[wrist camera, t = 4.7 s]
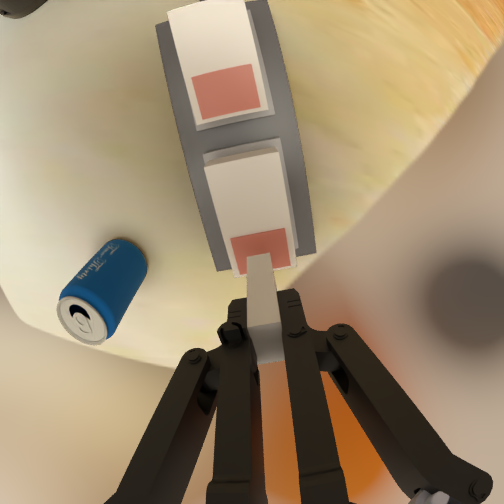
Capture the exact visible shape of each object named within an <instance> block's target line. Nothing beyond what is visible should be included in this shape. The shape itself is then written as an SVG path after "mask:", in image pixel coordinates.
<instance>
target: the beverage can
mask: <svg viewBox="0 0 504 504" xmlns="http://www.w3.org/2000/svg"><path fill="white" fill-rule="evenodd" d="M146 273H147V264H146V260H145V258H144V256H143V254H142V253H141V251H140V250H139V249H138V248H137V247H136V246H135V245H134V244H132V243H130V242H128V241H125V240H121V239H115V240H111V241H109V242H107V243H106V244H105V245H104V246H103V247H102V248H101V249H100V250H99V251H98V252H97V253H96V254H95V255H94V256H93V257H92V258H91V259H90V260H89V262H88V263H87V264H86V265H85V266H84V267H83V268H82V269H81V270H80V271H79V272H78V273H77V274H76V276H75V277H74V278H73V279H72V280H71V281H70V282H69V283H68V284H67V286H66V287H65V288H64V289H63V290H62V292H61V294H60V298H59V302H58V304H57V315H58V318H59V320H60V322H61V324H62V326H63V327H64V328H65V329H66V331H67V332H68V333H69V334H70V335H72V336H73V337H74V338H75V339H77V340H79V341H80V342H83V343H85V344H88V345H100V344H102V343H103V342H104V341H105V340H106V339H108V338H110V337H111V336H112V335H113V334H114V332H115V330H116V329H117V327H118V325H119V323H120V321H121V319H122V317H123V315H124V314H125V312H126V310H127V308H128V306H129V304H130V303H131V301H132V299H133V297H134V296H135V294H136V292H137V290H138V289H139V287H140V285H141V283H142V282H143V280H144V278H145V276H146Z"/></svg>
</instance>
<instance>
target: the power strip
mask: <svg viewBox="0 0 504 504" xmlns="http://www.w3.org/2000/svg"><path fill="white" fill-rule="evenodd" d="M201 1H205V0H200V2H201ZM245 6H246V10H247V14H248V18H249V22H250V26H251V30H252V35H253V39H254V43H255V48H256V52H257V56H258V61H259V65H260V70H261V75H262V79H263V84H264V89H265V94H266V99H267V104H268V109H269V110H264V111H258V112H253V113H248V114H243V115H238V116H233V117H229V118H224V119H220V120H216V121H212V122H208V123H204V124H200V125H197V124H196V120H195V117H194V113H193V109H192V106H191V102H190V99H189V95H188V91H187V88H186V84H185V80H184V77H183V73H182V69H181V65H180V62H179V58H178V54H177V50H176V46H175V43H174V39H173V35H172V31H171V27H170V23H169V21H166V22H163V23H160V24H157V25H155V27H156V32H157V37H158V43H159V48H160V53H161V57H162V62H163V67H164V72H165V76H166V81H167V85H168V90H169V94H170V99H171V103H172V107H173V112H174V116H175V120H176V124H177V128H178V132H179V137H180V141H181V145H182V149H183V152H184V156H185V160H186V164H187V168H188V172H189V175H190V179H191V183H192V187H193V190H194V194H195V198H196V201H197V205H198V208H199V212H200V216H201V219H202V223H203V226H204V229H205V233H206V236H207V240H208V243H209V247H210V250H211V253H212V257H213V260H214V263H215V266H216V270H217V271H223V270H228V269H232V267H231V264H230V260H229V257H228V253H227V250H226V246H225V243H224V239H223V236H222V232H221V229H220V225H219V222H218V218H217V214H216V211H215V207H214V204H213V200H212V196H211V193H210V189H209V185H208V182H207V178H206V174H205V170H204V166H205V165H206V163H207V162H208V160H212V159H217V158H221V157H225V156H230V155H234V154H239V153H244V152H249V151H254V150H259V149H264V148H270V147H276V149H277V150H278V151H279V156H280V161H281V167H282V172H283V178H284V184H285V189H286V195H287V201H288V208H289V214H290V220H291V227H292V233H293V240H294V247H295V254H296V257H298V256H303V255H308V254H313V253H316V245H315V236H314V228H313V220H312V212H311V205H310V197H309V191H308V184H307V177H306V171H305V165H304V159H303V153H302V147H301V141H300V136H299V130H298V125H297V120H296V115H295V110H294V105H293V100H292V96H291V91H290V86H289V82H288V77H287V73H286V69H285V65H284V61H283V56H282V52H281V48H280V45H279V41H278V37H277V33H276V29H275V26H274V22H273V19H272V15H271V12H270V8H269V5H268V2H267V0H256V1H249V2H245Z"/></svg>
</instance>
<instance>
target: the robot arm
mask: <svg viewBox="0 0 504 504" xmlns="http://www.w3.org/2000/svg"><path fill="white" fill-rule="evenodd" d="M45 1H46V0H0V14H1V15H3V16H5V17H9V18H14V19H17V18H21V17H24V16H26V15H28V14H29V13H31V12H33V11H34V10H35V9H37V8H38V7H39V6H41V5H42V4H43V3H44V2H45ZM217 333H218V336H219V338H220V341H221V343H222V345H221V346H219V347H218V348H216V349H213V350H211V351H208V352H206V351H205V350H204V349H201V348H193V349H191V350H189V351H187V352H186V353H185V354H184V355H183V356H182V358H181V360H180V362H179V364H178V366H177V368H176V370H175V372H174V374H173V376H172V378H171V380H170V382H169V384H168V386H167V388H166V390H165V392H164V394H163V396H162V398H161V400H160V402H159V404H158V406H157V408H156V410H155V413H154V414H153V416H152V418H151V420H150V422H149V424H148V427H147V429H146V431H145V433H144V435H143V437H142V439H141V441H140V443H139V445H138V447H137V449H136V451H135V453H134V455H133V457H132V460H131V461H130V464H129V466H128V468H127V470H126V472H125V474H124V476H123V478H122V481H121V483H120V485H119V487H118V489H117V491H116V493H115V494H114V495H112V497H110V498H109V499H108V500H107V501H106V502H105V503H104V504H181V502H182V499H183V497H184V494H185V491H186V488H187V486H188V484H189V481H190V478H191V475H192V473H193V470H194V467H195V465H196V462H197V459H198V457H199V454H200V451H201V449H202V446H203V443H204V440H205V438H206V435H207V432H208V429H209V427H210V424H211V421H212V418H213V415H214V412H215V410H216V407H217V414H216V431H215V446H214V464H213V479H212V481H211V482H210V483H209V484H208V486H207V491H206V504H268V499H267V495H266V490H265V475H264V474H265V473H264V453H263V435H262V434H263V433H262V415H261V394H260V376H259V370H258V367H257V361H258V364H263V363H270V362H277V361H282V360H285V363H286V371H287V379H288V387H289V394H290V402H291V410H292V418H293V426H294V435H295V443H296V452H297V460H298V469H299V485H300V494H301V504H355V503H352V502H349V499H348V494H347V488H346V483H345V477H344V473H343V470H342V468H341V466H340V462H339V457H338V452H337V447H336V442H335V437H334V432H333V427H332V423H331V418H330V413H329V409H328V405H327V400H326V395H325V391H324V387H323V383H322V378H321V374H320V371H327V372H328V374H329V375H330V377H331V378H332V380H333V382H334V383H335V385H336V386H337V388H338V390H339V391H340V393H341V395H342V396H343V398H344V399H345V401H346V403H347V404H348V406H349V407H350V409H351V411H352V412H353V414H354V416H355V417H356V418H357V420H358V422H359V424H360V425H361V427H362V428H363V430H364V432H365V433H366V435H367V436H368V438H369V440H370V441H371V443H372V445H373V446H374V448H375V449H376V451H377V453H378V454H379V456H380V458H381V459H382V461H383V462H384V464H385V465H386V467H387V469H388V470H389V472H390V474H391V475H392V477H393V478H394V480H395V482H396V483H397V485H398V486H399V487H400V488H401V490H402V491H403V492H404V493H405V494H406V495H407V496H408V497H409V498H410V499H411V501H410V502H409V503H408V504H480V503H482V502H483V501H485V500H486V498H487V497H488V496H489V495H490V493H491V490H492V487H493V480H492V477H491V476H490V475H489V474H488V473H487V472H485V471H483V470H481V469H479V468H477V467H475V466H473V465H471V464H470V463H468V462H466V461H464V460H462V459H461V458H459V457H457V456H455V455H453V454H452V453H451V451H450V450H449V449H448V447H447V446H446V445H445V443H444V442H443V441H442V439H441V438H440V437H439V435H438V434H437V433H436V431H435V430H434V429H433V427H432V426H431V425H430V424H429V422H428V421H427V420H426V418H425V417H424V416H423V414H422V413H421V412H420V411H419V409H418V408H417V407H416V405H415V404H414V403H413V402H412V400H411V399H410V398H409V397H408V395H407V394H406V393H405V391H404V390H403V389H402V388H401V386H400V385H399V384H398V383H397V381H396V380H395V379H394V378H393V376H392V375H391V374H390V373H389V372H388V370H387V369H386V368H385V367H384V366H383V364H382V363H381V362H380V360H379V359H378V358H377V357H376V355H375V354H374V353H373V352H372V351H371V349H369V347H368V346H367V345H366V343H365V342H364V341H363V340H362V339H361V337H360V336H359V335H358V334H357V332H356V331H355V330H354V329H353V328H352V327H351V326H349V325H347V324H336V325H333V326H331V327H330V328H329V329H328V330H327V331H317V330H314V329H312V328H310V327H309V326H308V325H307V322H306V319H305V315H304V311H303V307H302V303H301V300H300V296H299V293H298V292H297V291H296V290H295V289H294V288H293V289H288V290H282V291H277V288H276V282H275V277H274V272H273V267H272V262H271V257H270V253H265V254H260V255H254V256H249V257H247V298H241V299H235V300H232V301H231V303H230V305H229V306H228V319H227V322H225V323H224V324H222V325H221V326H220V327H219V328H218V331H217Z"/></svg>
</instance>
